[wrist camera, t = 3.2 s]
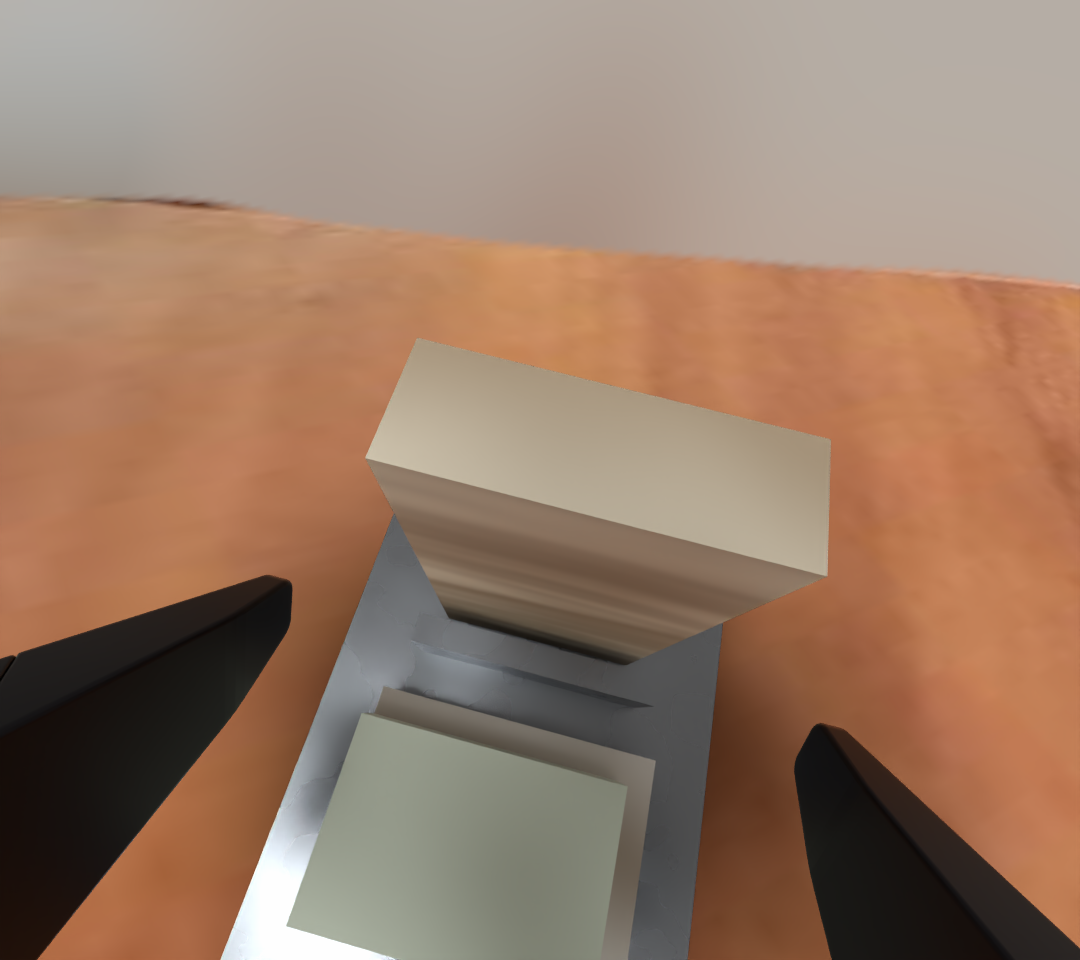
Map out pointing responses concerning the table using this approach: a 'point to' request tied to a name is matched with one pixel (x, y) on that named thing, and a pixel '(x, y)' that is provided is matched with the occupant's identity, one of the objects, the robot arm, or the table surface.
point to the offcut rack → (509, 693)
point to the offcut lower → (565, 753)
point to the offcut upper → (461, 851)
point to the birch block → (594, 504)
